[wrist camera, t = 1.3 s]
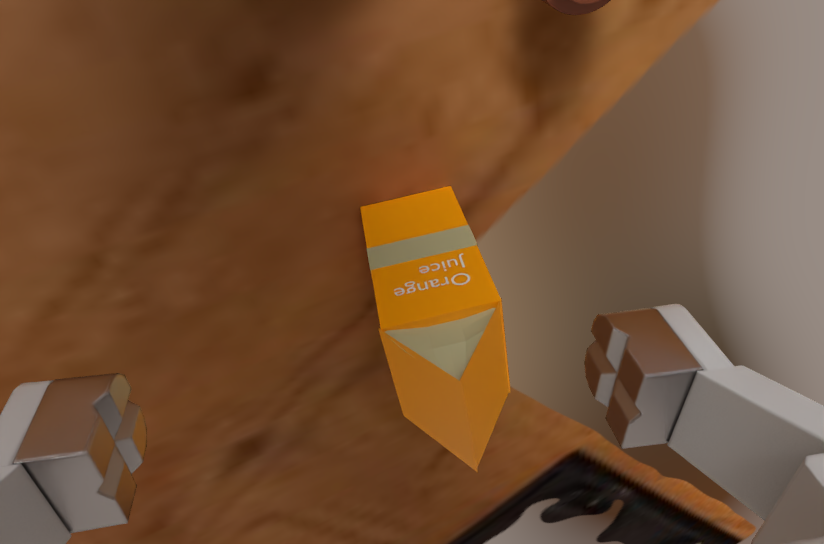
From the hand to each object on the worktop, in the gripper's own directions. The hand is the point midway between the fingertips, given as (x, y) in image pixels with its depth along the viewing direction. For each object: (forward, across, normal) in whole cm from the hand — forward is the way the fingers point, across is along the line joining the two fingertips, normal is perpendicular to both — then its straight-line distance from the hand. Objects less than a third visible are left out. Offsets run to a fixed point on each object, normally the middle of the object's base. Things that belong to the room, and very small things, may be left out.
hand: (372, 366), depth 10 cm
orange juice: (+33, -6, +20) cm, 39 cm away
